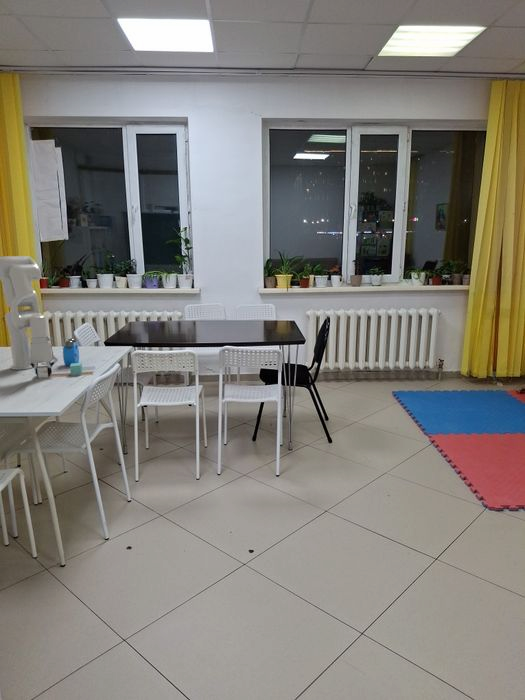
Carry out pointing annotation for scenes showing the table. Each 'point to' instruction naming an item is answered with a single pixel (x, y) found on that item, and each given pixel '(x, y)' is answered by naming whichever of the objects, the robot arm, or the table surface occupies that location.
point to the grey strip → (68, 368)
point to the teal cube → (76, 369)
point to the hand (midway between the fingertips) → (43, 375)
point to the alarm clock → (70, 352)
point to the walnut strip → (43, 373)
